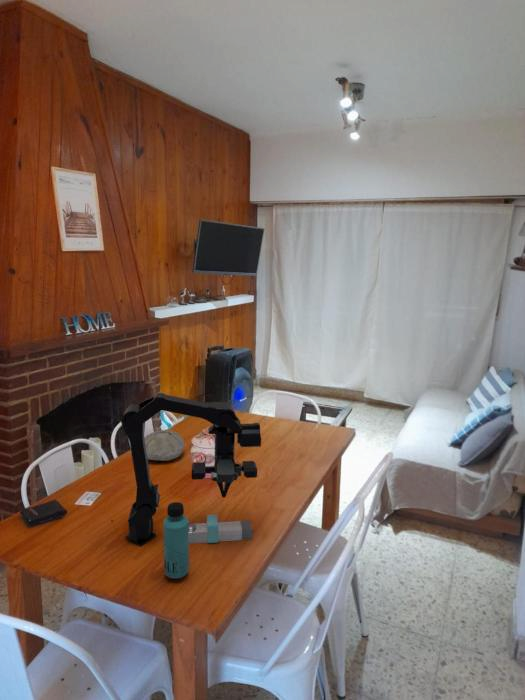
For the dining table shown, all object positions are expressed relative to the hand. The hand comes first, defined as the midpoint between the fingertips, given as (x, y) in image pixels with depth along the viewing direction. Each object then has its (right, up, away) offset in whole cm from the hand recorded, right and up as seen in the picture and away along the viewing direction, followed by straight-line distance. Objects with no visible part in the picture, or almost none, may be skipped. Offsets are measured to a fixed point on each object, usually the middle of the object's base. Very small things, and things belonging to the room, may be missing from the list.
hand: (223, 496), depth 139 cm
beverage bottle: (-11, -15, -17) cm, 25 cm away
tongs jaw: (-1, -11, +2) cm, 12 cm away
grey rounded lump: (-29, -1, +54) cm, 62 cm away
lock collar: (-3, -12, 0) cm, 12 cm away
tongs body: (-2, -12, 0) cm, 12 cm away
